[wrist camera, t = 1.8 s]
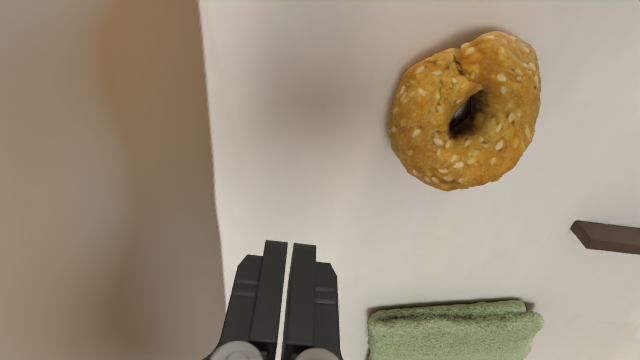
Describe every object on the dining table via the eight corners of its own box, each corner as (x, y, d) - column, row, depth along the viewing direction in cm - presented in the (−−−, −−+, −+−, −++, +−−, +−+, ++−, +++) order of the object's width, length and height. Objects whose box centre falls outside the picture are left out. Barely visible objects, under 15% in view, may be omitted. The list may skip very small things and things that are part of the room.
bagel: (566, 80, 27) (609, 108, 23) (451, 186, 32) (469, 224, 28) (465, -11, 23) (494, 4, 20) (355, 124, 29) (361, 157, 25)
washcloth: (510, 365, 47) (521, 393, 44) (364, 369, 47) (366, 396, 45) (538, 294, 39) (554, 322, 37) (365, 300, 40) (368, 328, 37)
